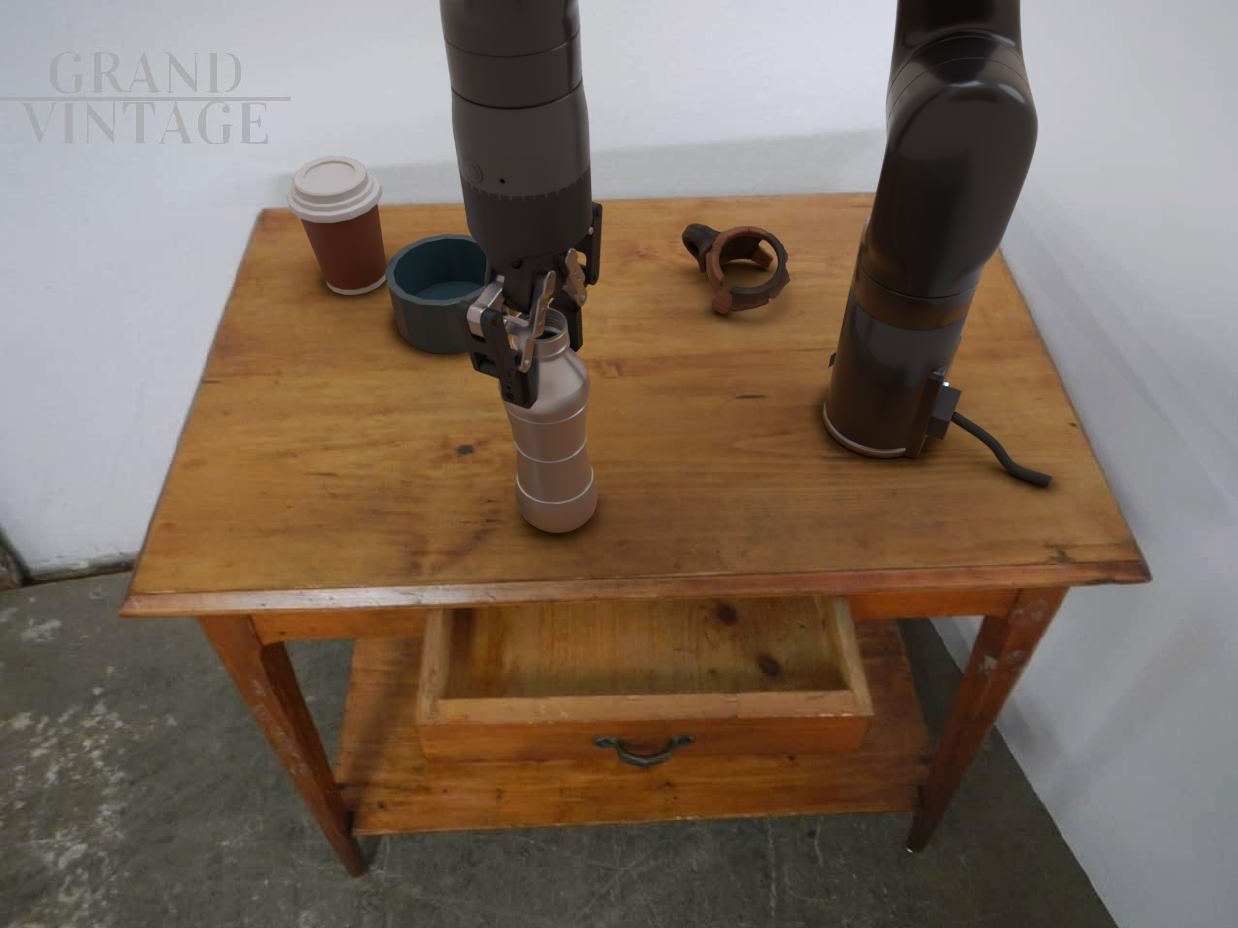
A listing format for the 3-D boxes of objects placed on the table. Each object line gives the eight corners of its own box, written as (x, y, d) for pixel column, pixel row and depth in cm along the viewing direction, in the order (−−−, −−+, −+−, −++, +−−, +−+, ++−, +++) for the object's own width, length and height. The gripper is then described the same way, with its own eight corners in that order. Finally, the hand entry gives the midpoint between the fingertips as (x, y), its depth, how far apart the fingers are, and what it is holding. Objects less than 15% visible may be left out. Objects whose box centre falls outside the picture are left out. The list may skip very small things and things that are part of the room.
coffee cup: (297, 296, 97) (263, 194, 88) (335, 245, 102) (307, 144, 93) (379, 308, 95) (353, 206, 86) (413, 256, 101) (392, 155, 92)
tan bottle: (589, 549, 75) (578, 362, 60) (508, 536, 76) (476, 349, 61) (606, 488, 79) (600, 299, 64) (529, 477, 80) (504, 288, 65)
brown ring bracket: (797, 273, 99) (812, 240, 91) (754, 348, 97) (765, 321, 89) (697, 221, 100) (703, 183, 92) (654, 293, 99) (656, 262, 91)
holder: (530, 301, 96) (525, 252, 91) (469, 367, 89) (460, 318, 85) (439, 271, 99) (430, 223, 95) (374, 333, 93) (361, 284, 88)
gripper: (513, 238, 48) (538, 459, 60) (640, 113, 56) (638, 329, 69) (393, 202, 50) (441, 421, 63) (532, 86, 58) (550, 300, 71)
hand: (544, 372), depth 66 cm, fingers closed on tan bottle, 6 cm apart
